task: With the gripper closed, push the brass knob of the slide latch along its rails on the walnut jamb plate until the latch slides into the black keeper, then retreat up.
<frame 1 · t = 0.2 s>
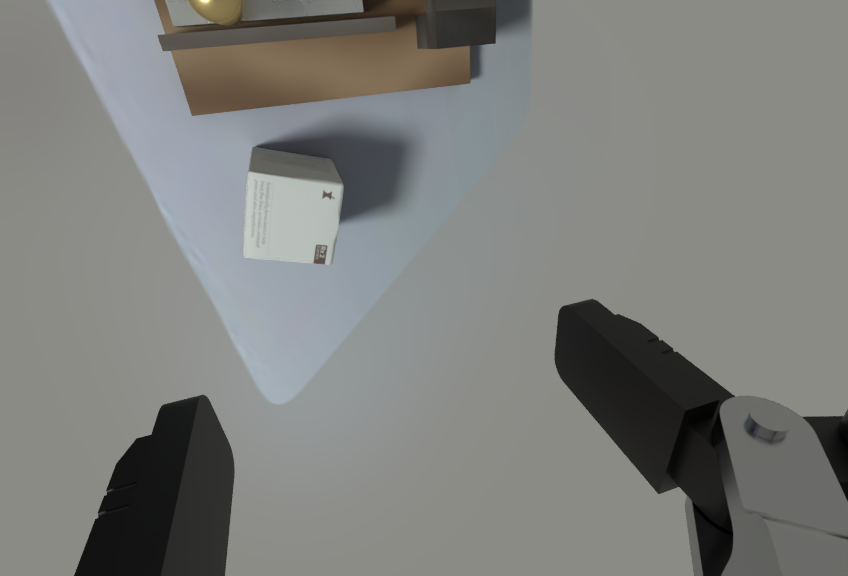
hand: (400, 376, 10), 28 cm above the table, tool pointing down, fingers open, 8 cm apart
skincare box: (290, 189, 35), on the table
jamb plate: (322, 0, 29), on the table
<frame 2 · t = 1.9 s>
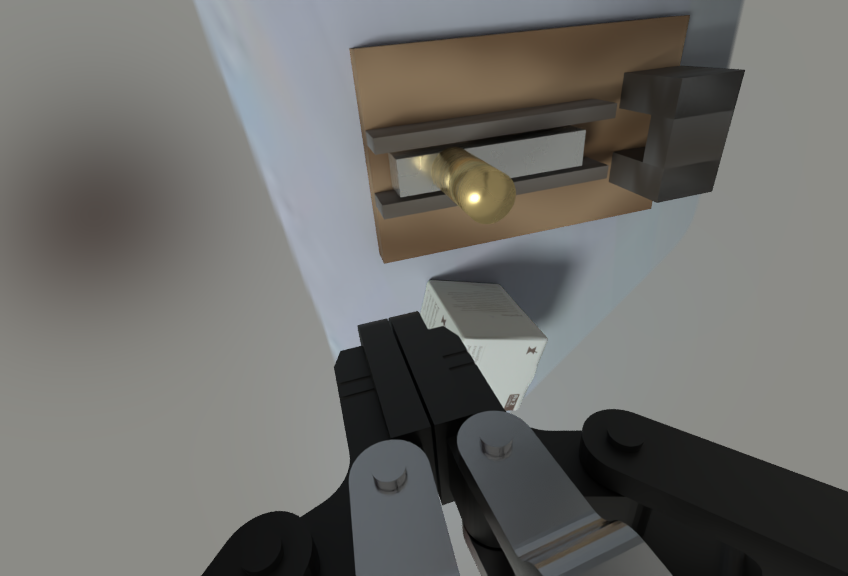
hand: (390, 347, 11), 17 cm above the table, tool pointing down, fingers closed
slide latch: (507, 169, 23), point 5 cm above the table, slide at 0.0 cm
skincare box: (453, 314, 33), on the table
jamb plate: (519, 139, 28), on the table
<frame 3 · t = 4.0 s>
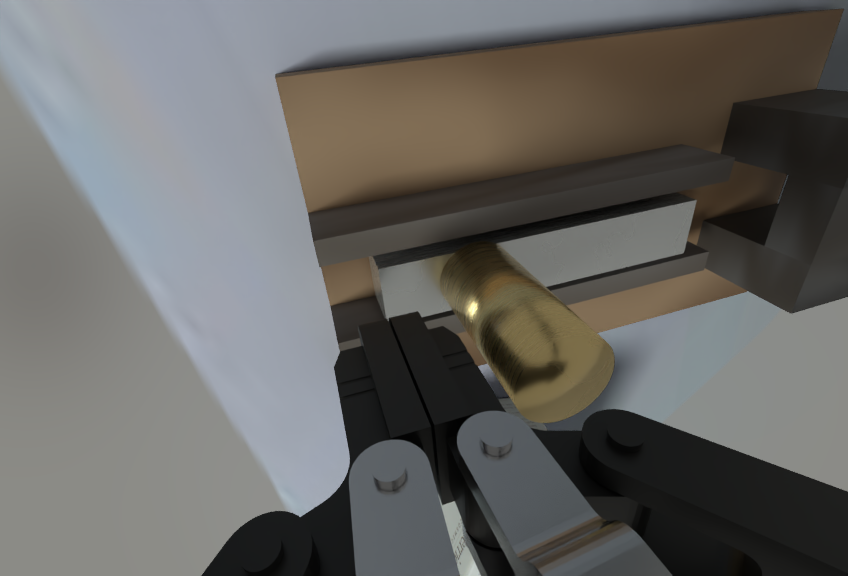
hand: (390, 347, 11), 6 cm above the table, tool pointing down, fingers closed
slide latch: (575, 281, 13), point 5 cm above the table, slide at 0.6 cm, touching gripper
skincare box: (460, 437, 24), on the table
jamb plate: (561, 205, 18), on the table
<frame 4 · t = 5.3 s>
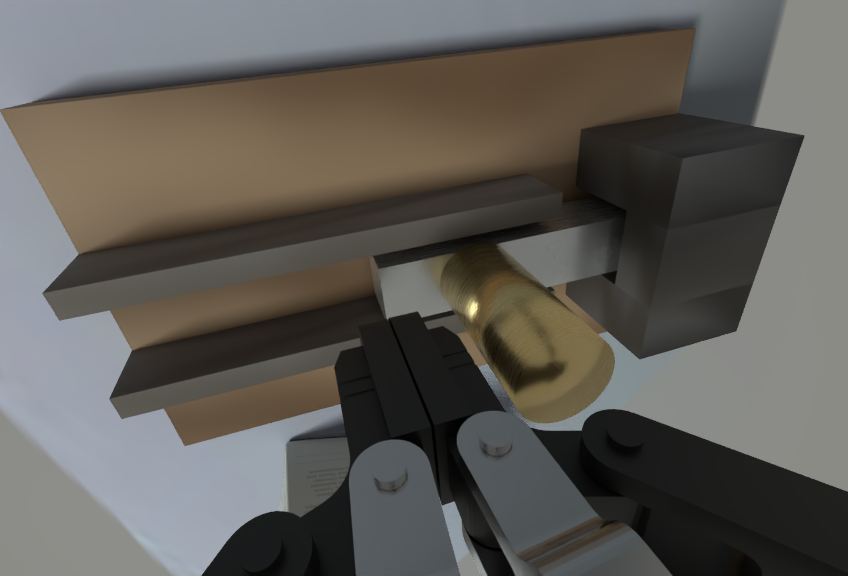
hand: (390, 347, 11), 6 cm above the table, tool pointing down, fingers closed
slide latch: (575, 282, 13), point 5 cm above the table, slide at 7.0 cm, touching gripper
skincare box: (341, 474, 22), on the table
jamb plate: (411, 236, 17), on the table
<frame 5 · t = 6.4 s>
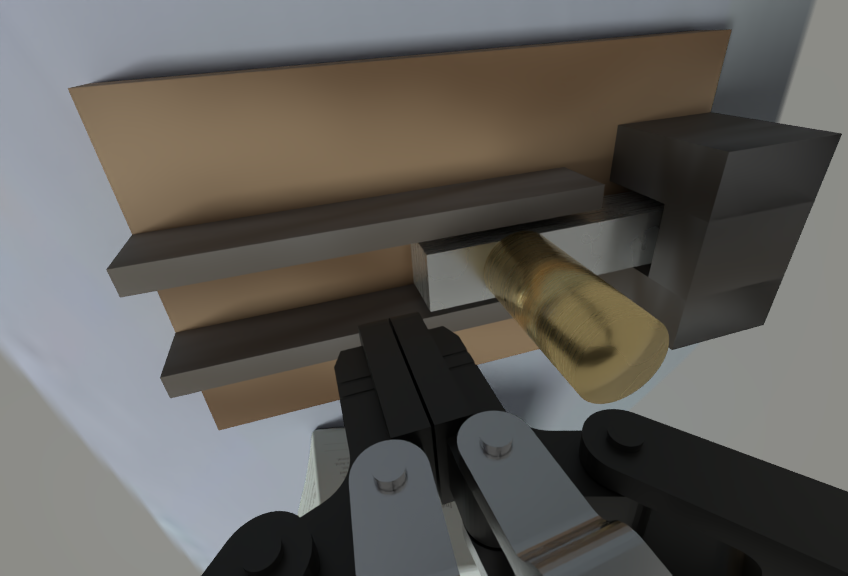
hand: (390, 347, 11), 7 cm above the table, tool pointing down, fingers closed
slide latch: (616, 271, 13), point 5 cm above the table, slide at 7.0 cm
skincare box: (363, 464, 22), on the table
jamb plate: (446, 226, 17), on the table
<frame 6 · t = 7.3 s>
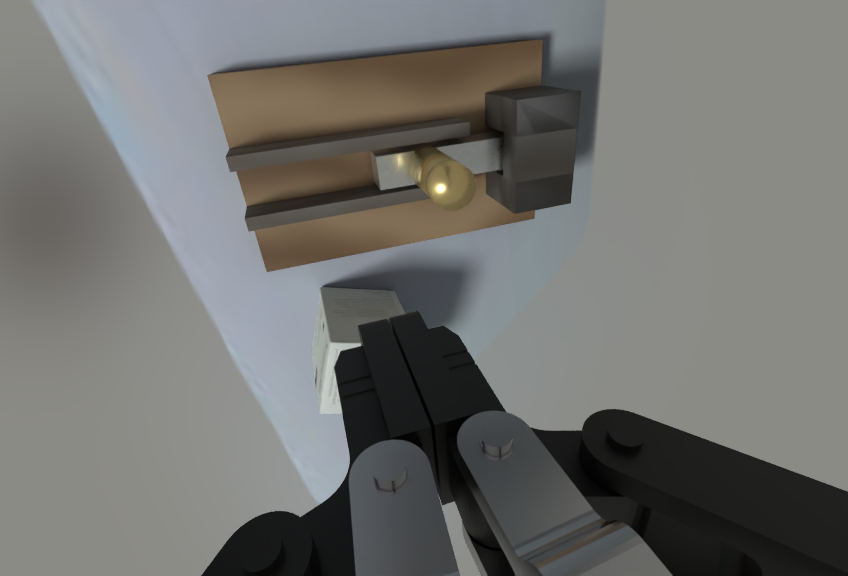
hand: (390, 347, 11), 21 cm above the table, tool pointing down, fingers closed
slide latch: (474, 165, 26), point 5 cm above the table, slide at 7.0 cm
skincare box: (352, 319, 35), on the table
jamb plate: (394, 154, 30), on the table
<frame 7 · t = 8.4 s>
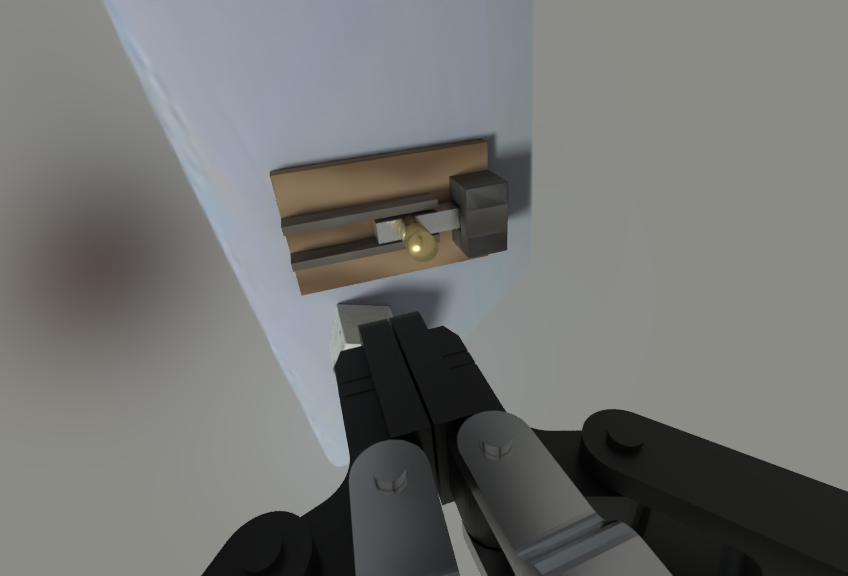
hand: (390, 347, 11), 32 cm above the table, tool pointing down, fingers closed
slide latch: (439, 228, 39), point 6 cm above the table, slide at 7.0 cm
skincare box: (359, 326, 49), on the table
jamb plate: (388, 215, 43), on the table
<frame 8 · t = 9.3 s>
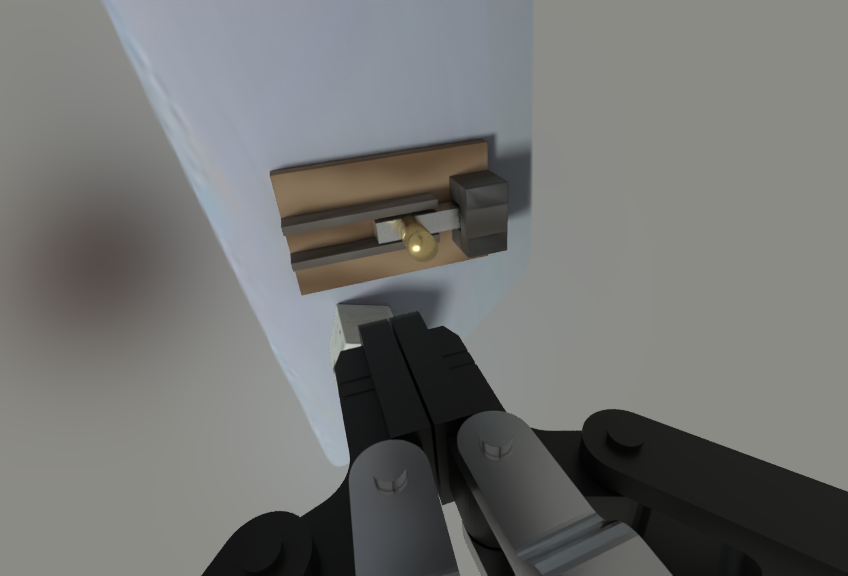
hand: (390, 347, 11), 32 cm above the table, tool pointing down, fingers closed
slide latch: (439, 228, 39), point 6 cm above the table, slide at 7.0 cm
skincare box: (359, 326, 49), on the table
jamb plate: (388, 215, 43), on the table
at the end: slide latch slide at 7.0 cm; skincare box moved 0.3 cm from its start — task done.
